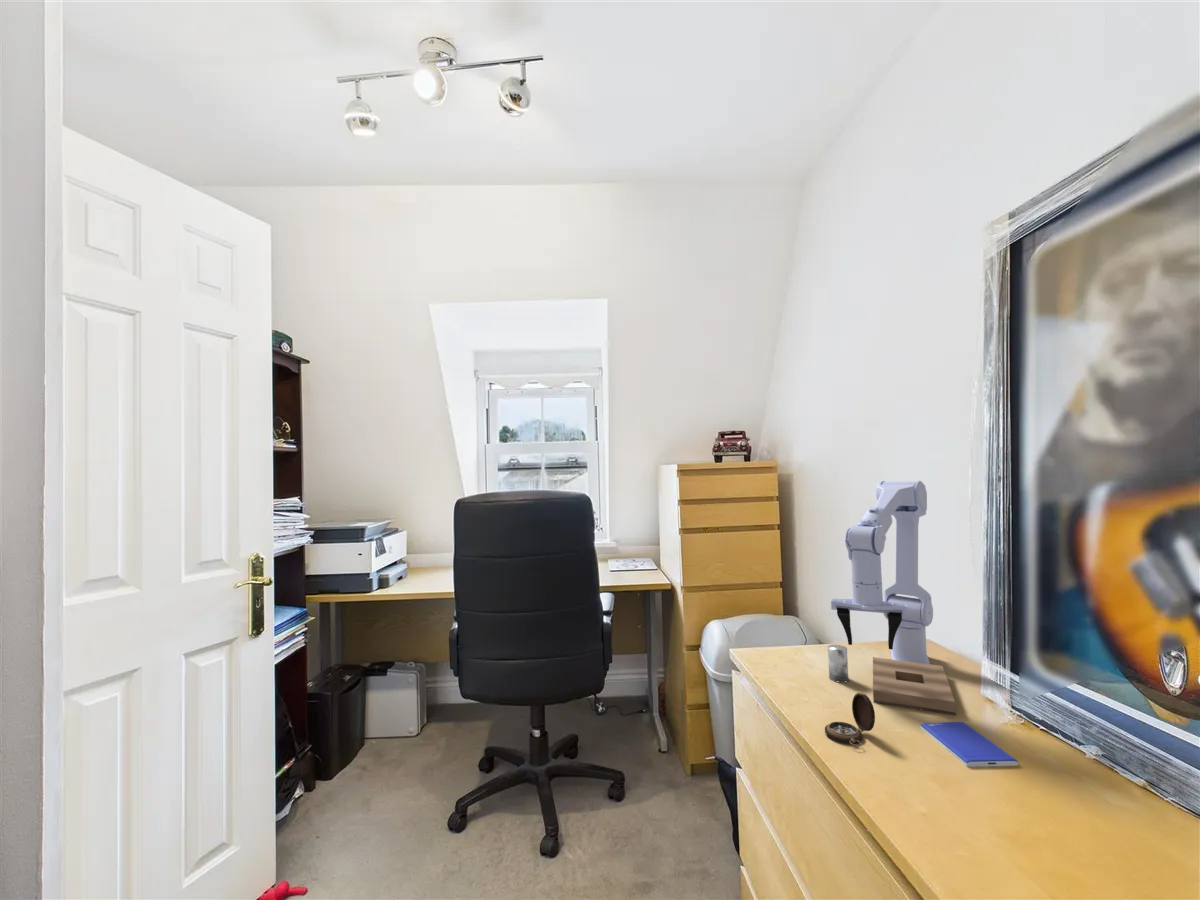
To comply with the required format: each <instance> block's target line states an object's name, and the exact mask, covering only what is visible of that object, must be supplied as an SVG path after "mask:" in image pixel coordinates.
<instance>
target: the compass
mask: <svg viewBox="0 0 1200 900" xmlns="http://www.w3.org/2000/svg"><path fill="white" fill-rule="evenodd" d="M851 710H852V715H853V719H854V722H855V724H856V725H857V726H855V725H854V724H851V723H849V722H844V721H833V722H832V721H831V722H830V723H828V724H827V725H825V726H824V733H825V736H827V737H828V738H829V739H831V740H832V741H834V742H837V743H840V744H841V743H842V744H847V745H850V744H851V746H856V747H859V746H861V745H862V742H861V741H862V740H863V732H870V731H872V730H873V728H874V726H875V723H876V713H875V708H874V705H873V702H872V700H871V699H870V697H869V696H868V695H867V694H866V693H861V692H857V693H856V694H854V695H853V697H852V701H851ZM858 743H859V744H858Z"/></svg>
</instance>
